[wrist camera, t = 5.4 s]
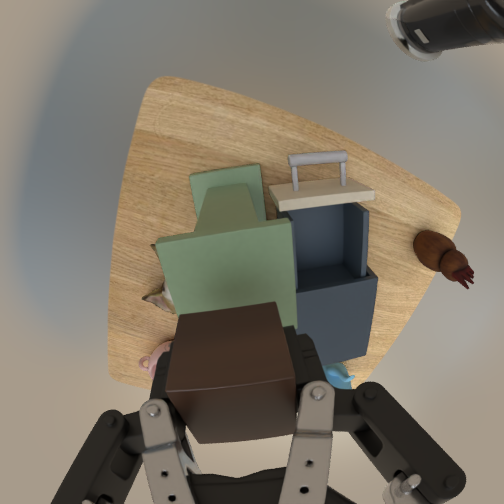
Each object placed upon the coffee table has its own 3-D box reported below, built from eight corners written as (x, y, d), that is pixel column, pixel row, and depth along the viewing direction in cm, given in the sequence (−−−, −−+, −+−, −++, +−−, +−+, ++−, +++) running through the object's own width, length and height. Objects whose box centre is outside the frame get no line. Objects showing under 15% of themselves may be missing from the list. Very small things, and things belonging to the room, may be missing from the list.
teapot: (318, 397, 59) (329, 431, 50) (264, 391, 55) (270, 429, 46) (362, 345, 52) (380, 380, 43) (304, 333, 49) (318, 375, 40)
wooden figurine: (404, 254, 44) (455, 302, 30) (414, 223, 41) (471, 264, 28) (430, 257, 44) (480, 301, 31) (439, 228, 42) (495, 267, 29)
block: (178, 313, 12) (164, 391, 8) (276, 300, 13) (296, 376, 9) (201, 375, 14) (198, 444, 10) (282, 364, 15) (297, 433, 10)
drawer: (264, 153, 34) (273, 160, 27) (347, 146, 34) (374, 153, 27) (277, 275, 42) (287, 305, 35) (349, 262, 42) (369, 289, 35)
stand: (190, 173, 35) (144, 237, 16) (258, 163, 36) (299, 213, 16) (202, 236, 39) (182, 349, 20) (266, 226, 39) (304, 332, 20)
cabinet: (271, 259, 42) (282, 295, 33) (350, 246, 42) (378, 277, 33) (278, 332, 48) (288, 373, 39) (346, 319, 48) (365, 355, 40)
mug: (205, 335, 47) (203, 360, 42) (205, 371, 51) (204, 395, 46) (138, 329, 46) (131, 353, 40) (146, 366, 50) (140, 388, 44)
